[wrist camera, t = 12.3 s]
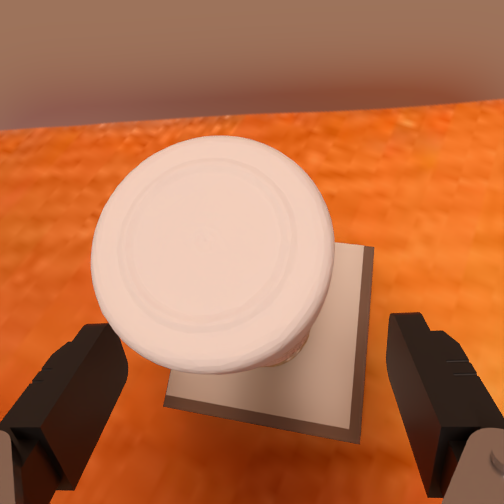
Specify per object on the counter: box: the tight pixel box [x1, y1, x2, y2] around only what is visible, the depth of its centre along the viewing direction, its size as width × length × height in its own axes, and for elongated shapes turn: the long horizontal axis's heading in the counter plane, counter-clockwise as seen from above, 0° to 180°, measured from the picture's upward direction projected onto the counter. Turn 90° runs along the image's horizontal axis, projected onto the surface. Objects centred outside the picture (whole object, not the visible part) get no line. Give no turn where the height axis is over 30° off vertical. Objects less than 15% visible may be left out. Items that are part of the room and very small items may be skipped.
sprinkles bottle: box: [91, 136, 335, 375], centre depth 13 cm, size 5×5×13 cm
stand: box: [163, 242, 374, 444], centre depth 22 cm, size 11×11×6 cm
